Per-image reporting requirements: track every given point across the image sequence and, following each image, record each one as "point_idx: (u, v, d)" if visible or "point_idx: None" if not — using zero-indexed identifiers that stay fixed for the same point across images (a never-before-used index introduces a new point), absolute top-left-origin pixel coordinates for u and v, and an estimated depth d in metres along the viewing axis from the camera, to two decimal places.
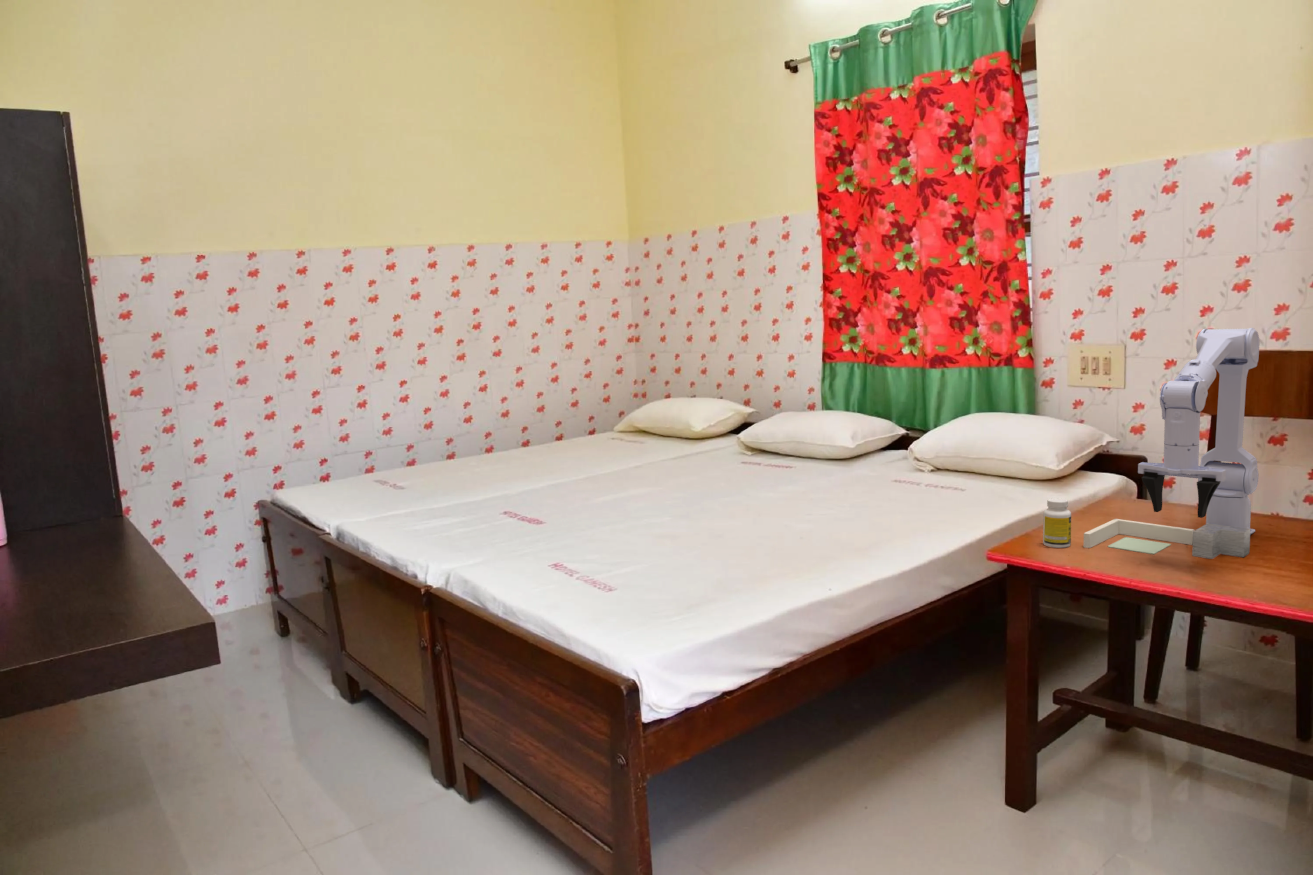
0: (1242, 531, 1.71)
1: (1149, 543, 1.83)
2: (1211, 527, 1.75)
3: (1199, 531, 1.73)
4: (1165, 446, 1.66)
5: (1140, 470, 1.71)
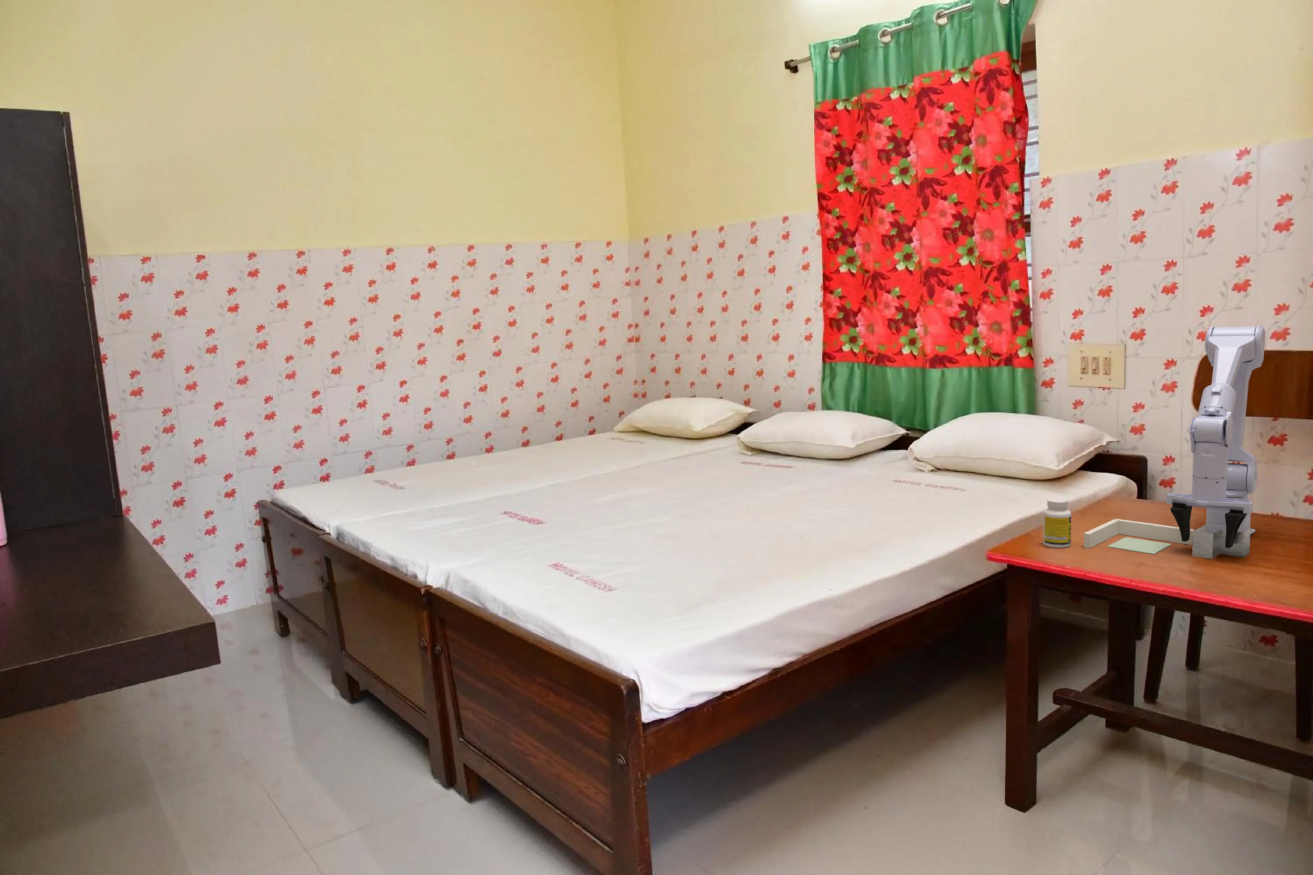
0: (1242, 531, 1.71)
1: (1149, 543, 1.83)
2: (1211, 527, 1.75)
3: (1199, 531, 1.73)
4: (1194, 478, 1.72)
5: (1169, 501, 1.77)
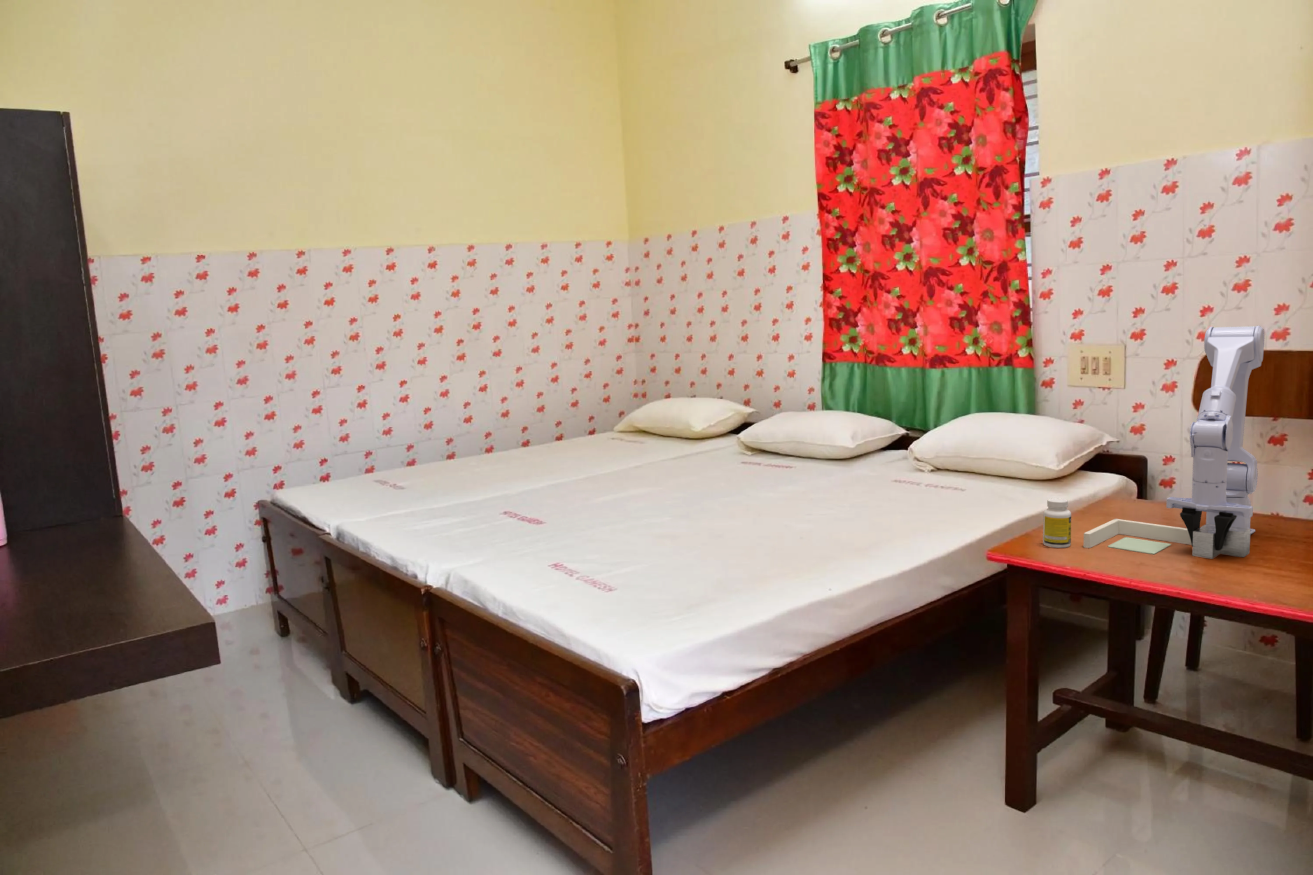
0: (1242, 531, 1.71)
1: (1149, 543, 1.83)
2: (1211, 527, 1.75)
3: (1199, 531, 1.73)
4: (1193, 482, 1.72)
5: (1168, 505, 1.77)
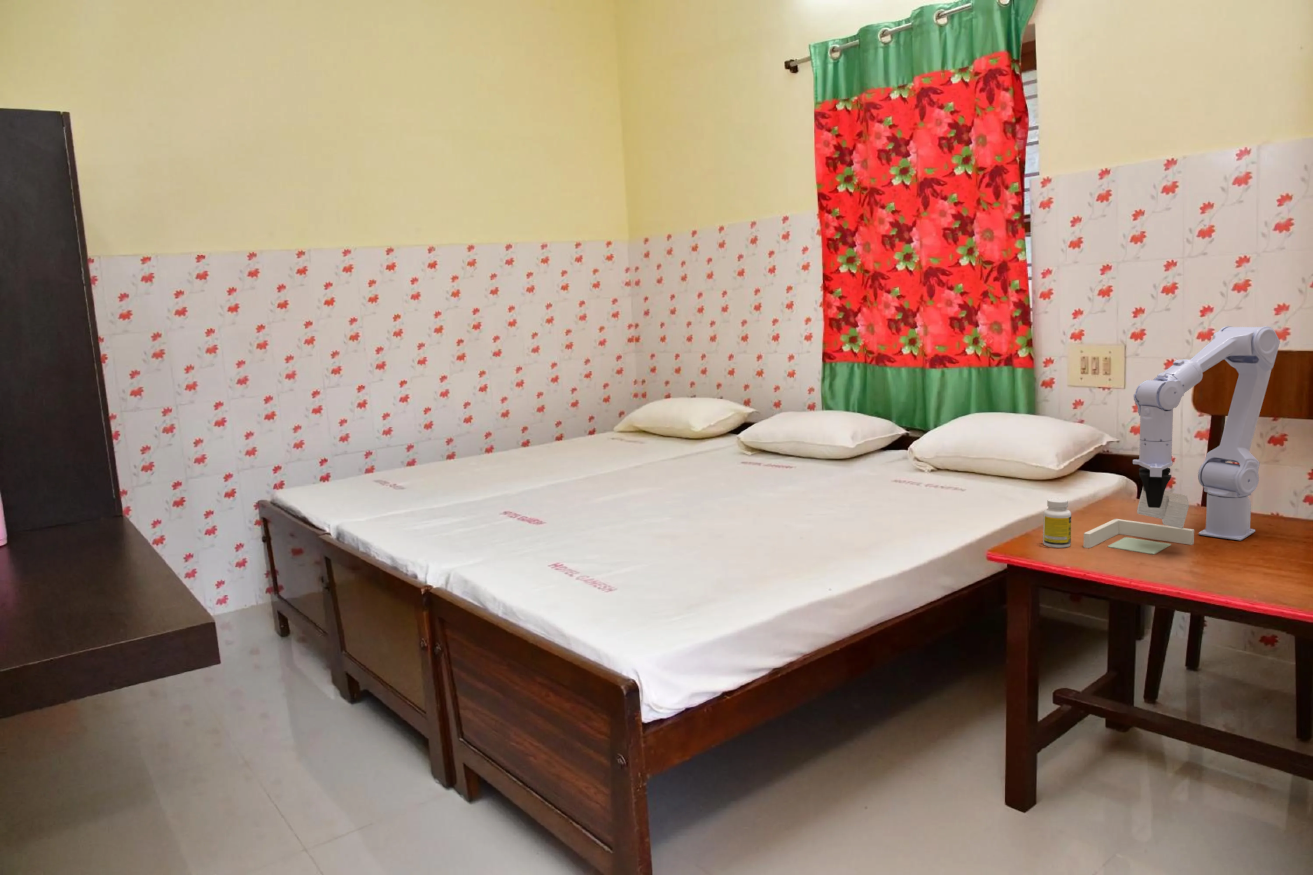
0: (1172, 500, 1.73)
1: (1149, 543, 1.83)
2: (1170, 494, 1.78)
3: None
4: None
5: None
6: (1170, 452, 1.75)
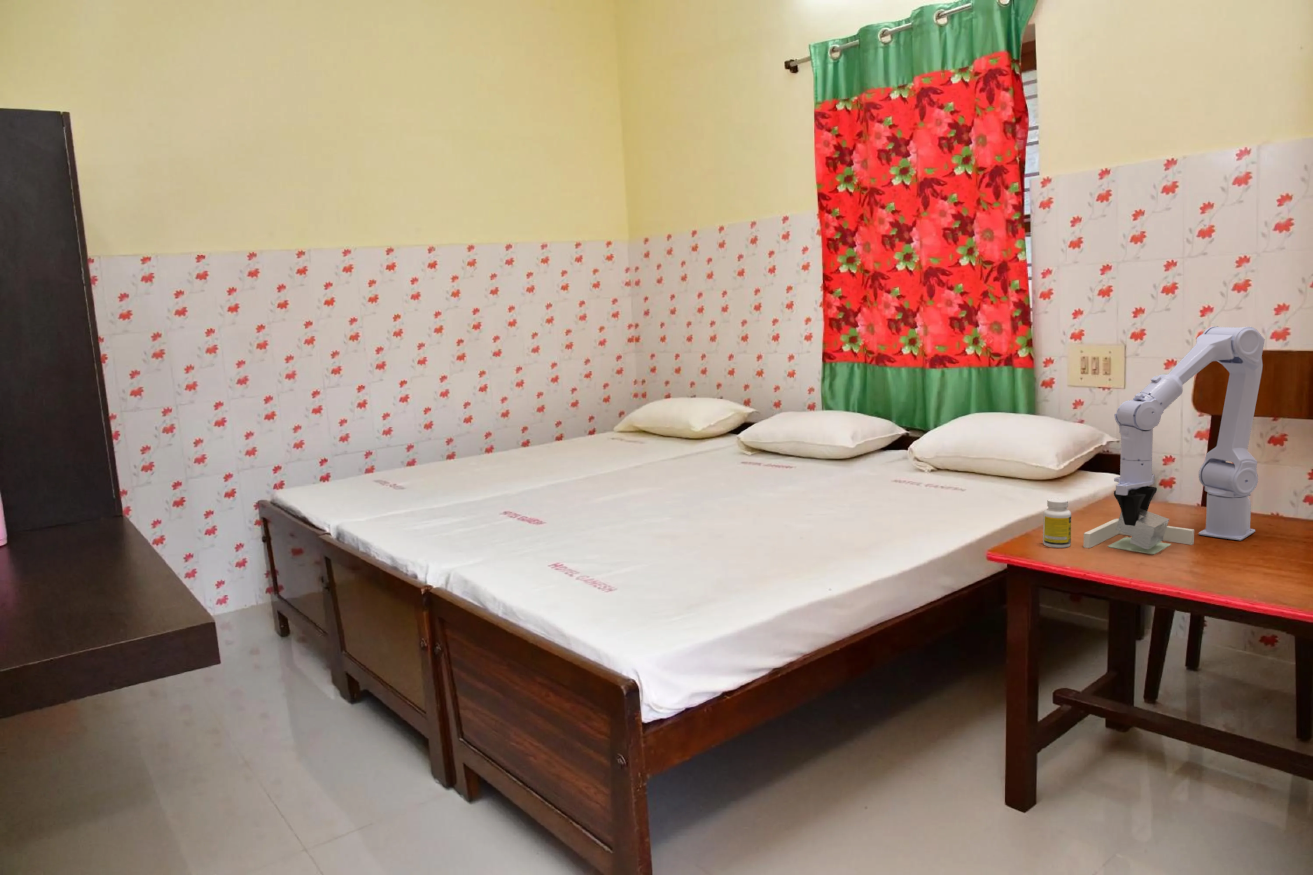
0: (1141, 521, 1.76)
1: None
2: (1150, 515, 1.80)
3: None
4: None
5: None
6: (1147, 472, 1.78)
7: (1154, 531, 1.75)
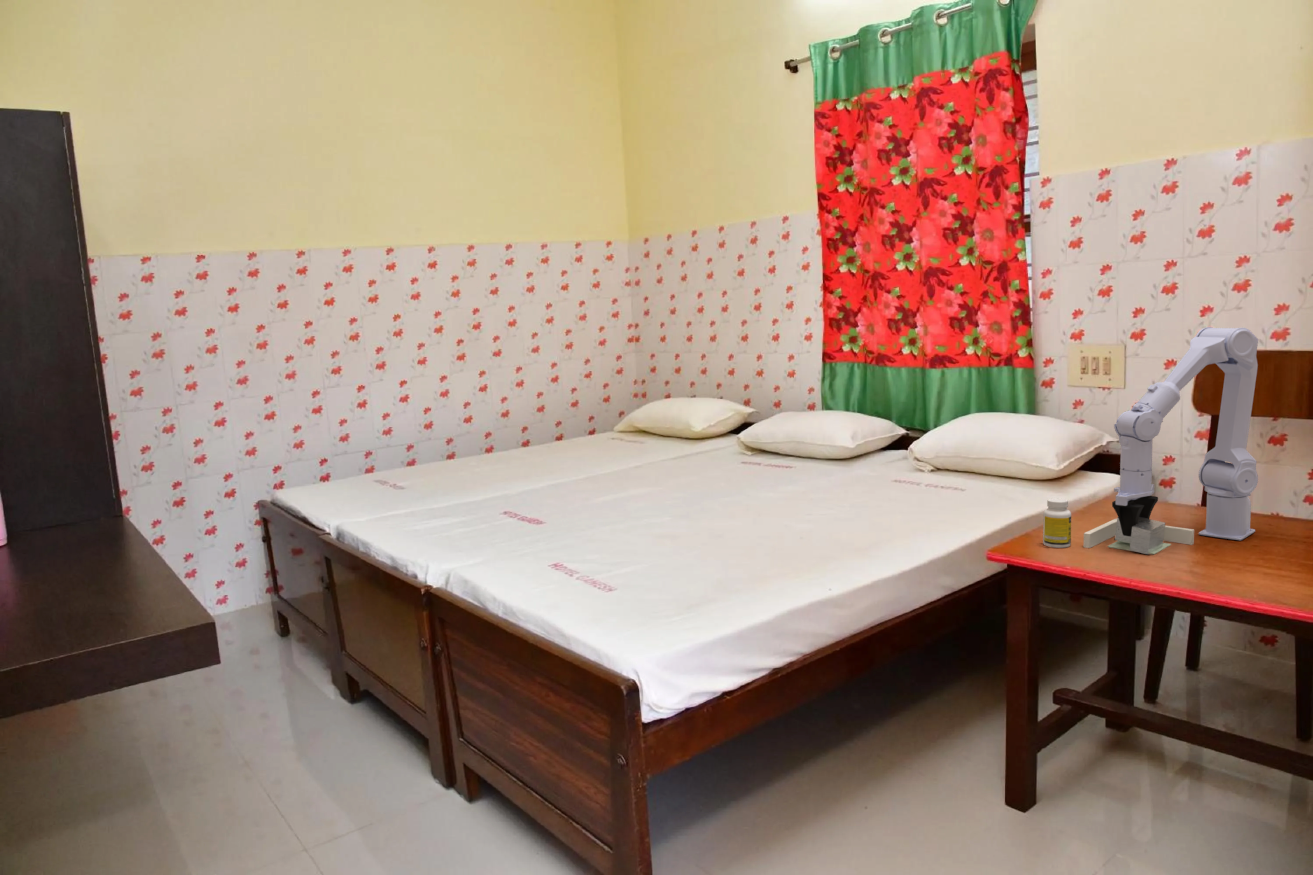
0: (1136, 526, 1.77)
1: None
2: (1146, 520, 1.80)
3: None
4: None
5: None
6: (1146, 482, 1.78)
7: (1151, 535, 1.75)
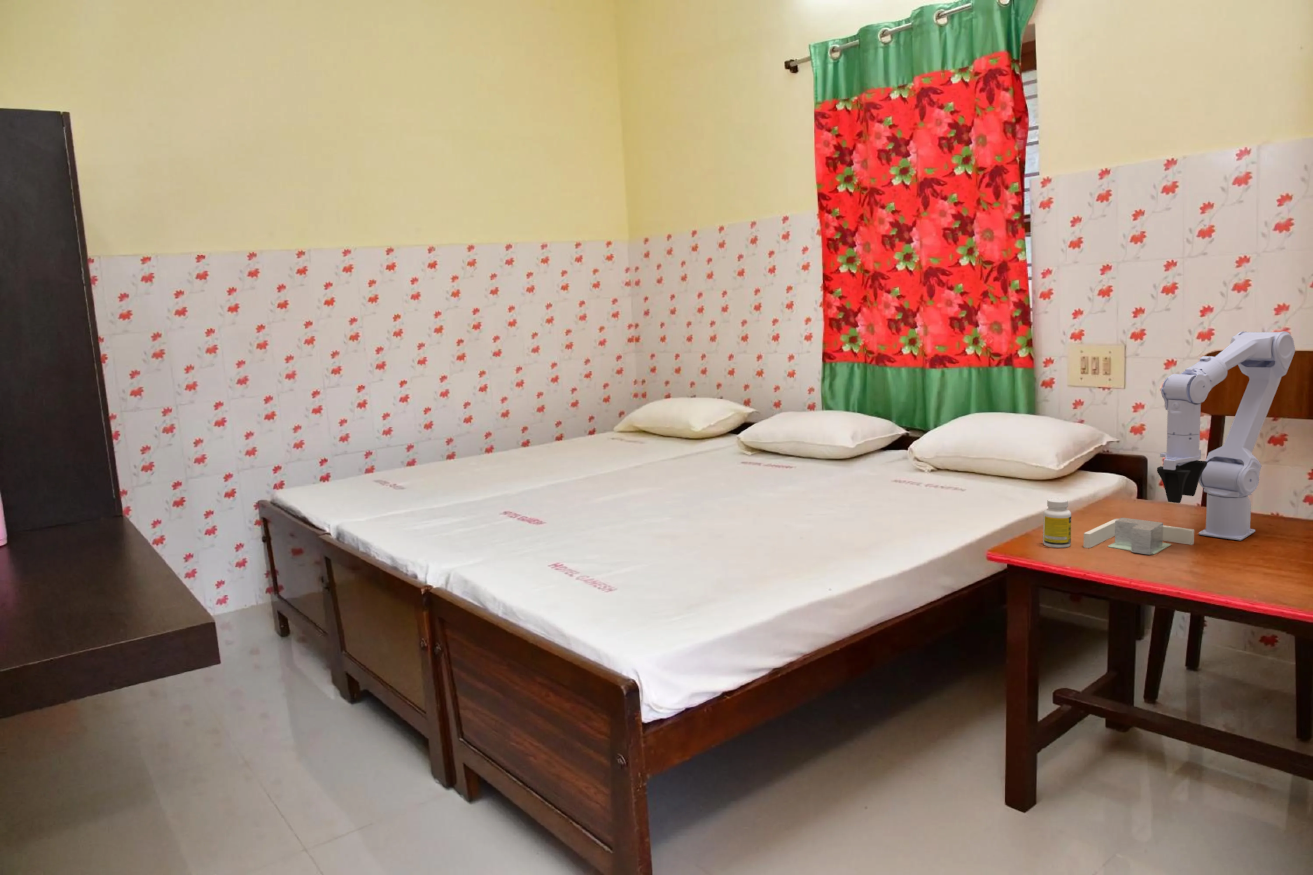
0: (1136, 528, 1.77)
1: None
2: (1144, 522, 1.81)
3: (1123, 518, 1.84)
4: None
5: None
6: (1195, 446, 1.75)
7: (1151, 534, 1.75)
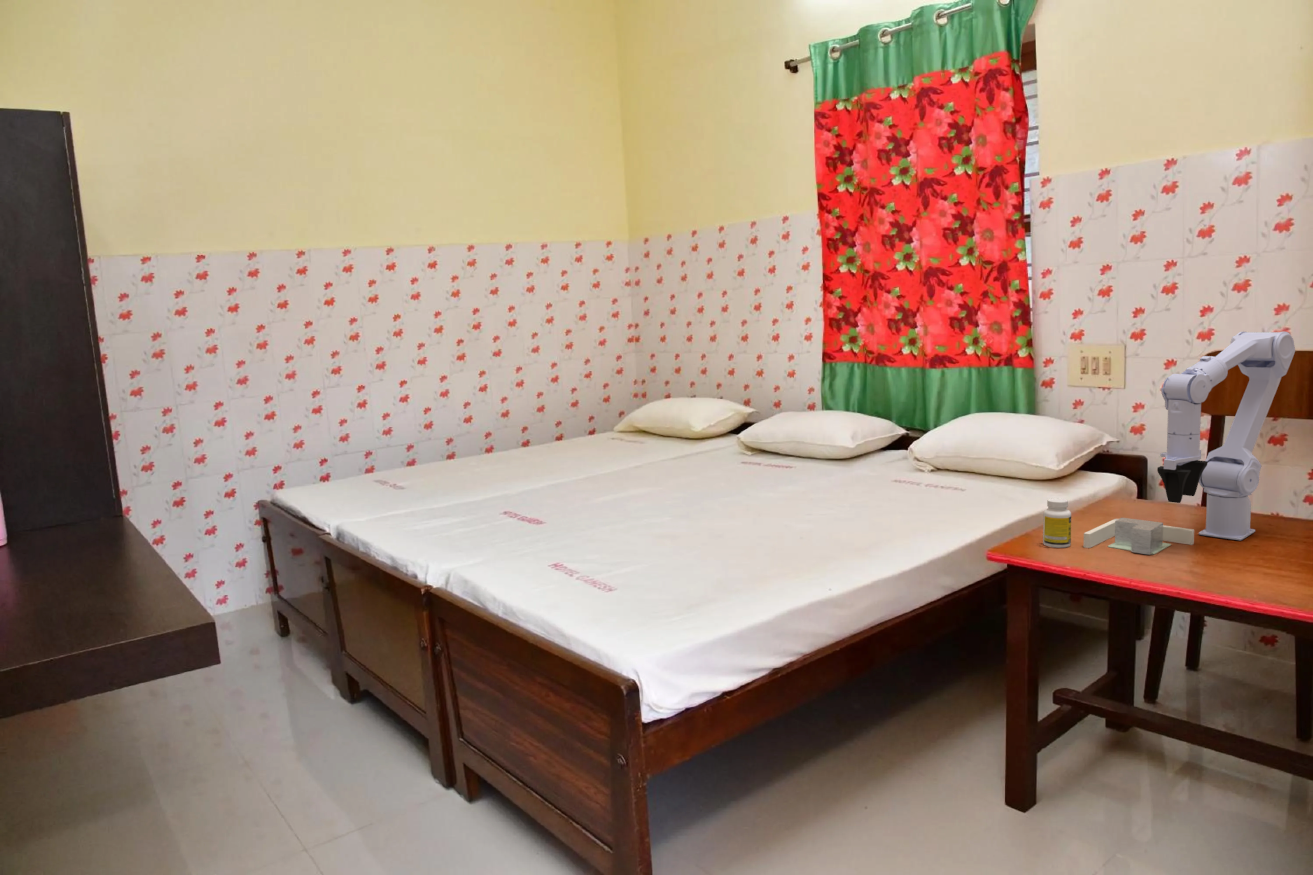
0: (1136, 528, 1.77)
1: None
2: (1144, 522, 1.81)
3: (1123, 518, 1.84)
4: None
5: None
6: (1195, 446, 1.75)
7: (1151, 534, 1.75)
